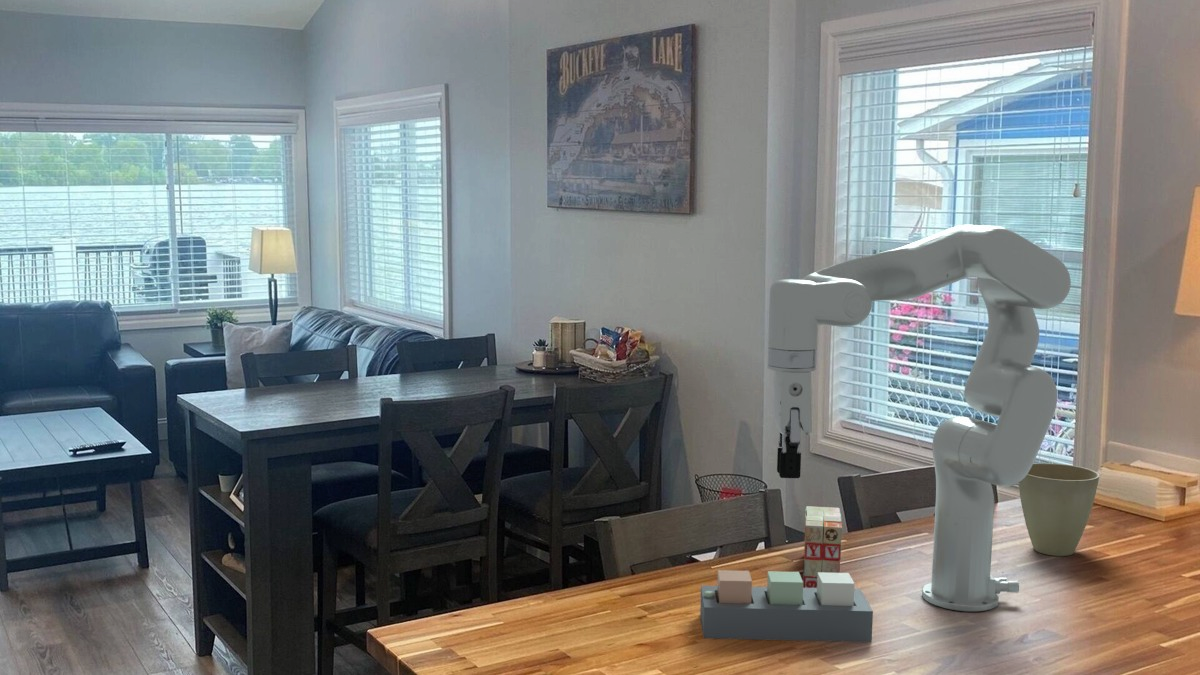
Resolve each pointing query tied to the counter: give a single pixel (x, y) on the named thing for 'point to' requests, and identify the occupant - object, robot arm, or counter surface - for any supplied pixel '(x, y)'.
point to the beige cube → (734, 587)
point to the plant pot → (1057, 505)
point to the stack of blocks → (821, 543)
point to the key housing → (785, 618)
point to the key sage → (784, 588)
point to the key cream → (835, 589)
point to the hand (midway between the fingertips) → (788, 474)
